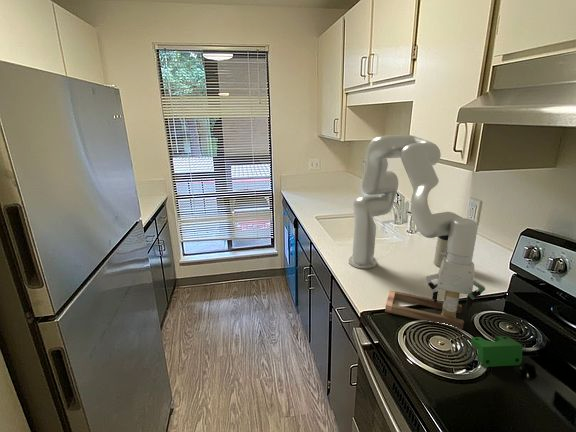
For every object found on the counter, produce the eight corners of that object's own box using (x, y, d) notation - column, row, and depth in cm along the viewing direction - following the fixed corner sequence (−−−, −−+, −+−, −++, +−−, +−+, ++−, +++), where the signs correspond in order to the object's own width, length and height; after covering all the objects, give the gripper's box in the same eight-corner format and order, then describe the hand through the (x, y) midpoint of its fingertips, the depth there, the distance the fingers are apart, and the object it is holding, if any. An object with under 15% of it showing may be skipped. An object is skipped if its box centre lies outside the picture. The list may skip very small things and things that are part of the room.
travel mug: (456, 266, 146) (463, 228, 141) (445, 270, 143) (451, 231, 137) (441, 259, 153) (447, 223, 147) (429, 263, 149) (435, 226, 144)
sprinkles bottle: (443, 311, 113) (449, 276, 109) (457, 316, 110) (464, 281, 106) (438, 317, 110) (444, 281, 106) (453, 322, 107) (459, 286, 103)
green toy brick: (499, 366, 94) (511, 337, 94) (514, 377, 88) (528, 347, 88) (462, 352, 93) (475, 323, 93) (476, 362, 87) (489, 332, 87)
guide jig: (389, 296, 122) (389, 290, 122) (460, 310, 113) (461, 304, 112) (385, 311, 113) (385, 305, 112) (462, 329, 104) (463, 322, 103)
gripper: (428, 257, 103) (422, 304, 108) (492, 266, 97) (482, 316, 102) (429, 248, 110) (423, 293, 115) (488, 257, 103) (479, 304, 108)
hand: (451, 304), depth 108 cm, fingers open, 9 cm apart
